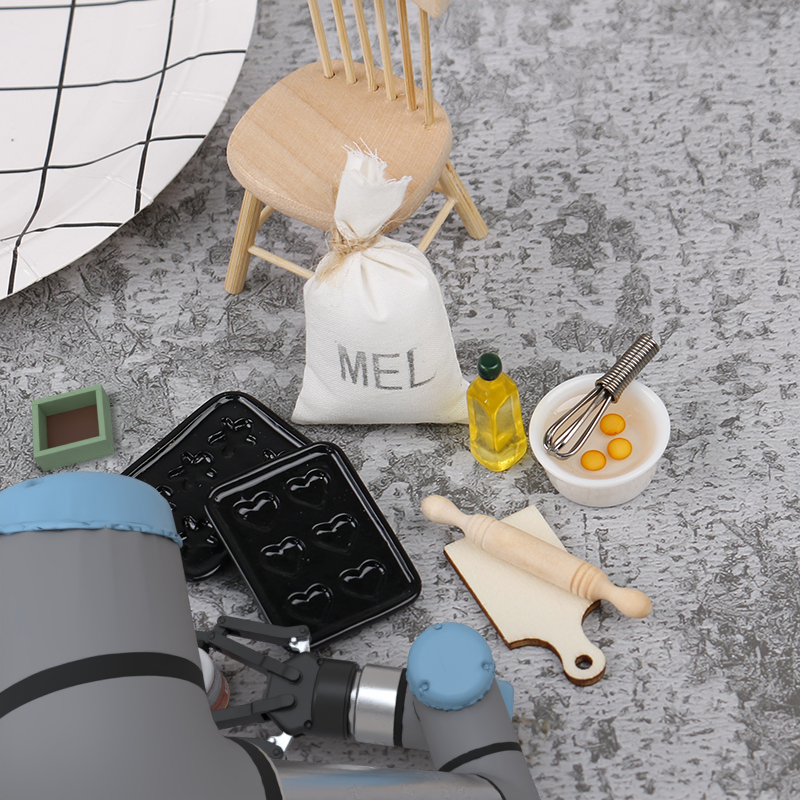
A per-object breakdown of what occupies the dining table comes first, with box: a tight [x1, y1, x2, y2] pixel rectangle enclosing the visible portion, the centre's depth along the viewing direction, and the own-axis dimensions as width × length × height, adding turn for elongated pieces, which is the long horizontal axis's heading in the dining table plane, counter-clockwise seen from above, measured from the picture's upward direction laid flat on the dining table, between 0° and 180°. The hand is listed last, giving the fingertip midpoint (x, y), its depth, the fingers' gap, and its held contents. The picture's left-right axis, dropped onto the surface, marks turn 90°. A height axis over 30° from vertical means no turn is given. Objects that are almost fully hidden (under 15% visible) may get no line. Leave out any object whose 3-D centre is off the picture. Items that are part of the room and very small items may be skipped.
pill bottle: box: [198, 648, 231, 711], centre depth 97 cm, size 6×6×11 cm
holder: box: [31, 383, 115, 472], centre depth 122 cm, size 9×9×4 cm
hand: (137, 673), depth 97 cm, fingers closed on pill bottle, 6 cm apart
